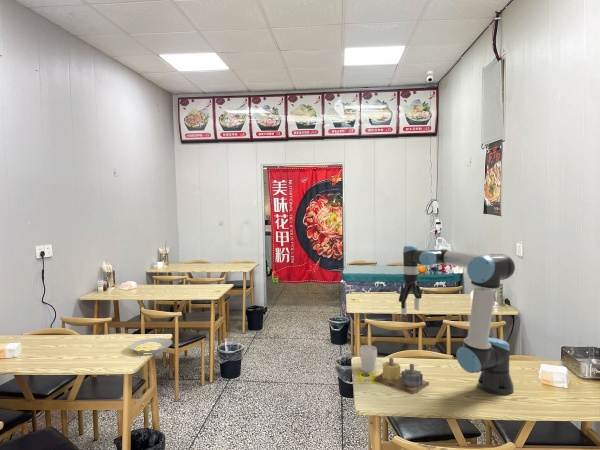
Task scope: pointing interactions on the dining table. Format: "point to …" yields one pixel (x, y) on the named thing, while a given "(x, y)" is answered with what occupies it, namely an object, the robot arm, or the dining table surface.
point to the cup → (368, 357)
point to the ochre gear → (391, 371)
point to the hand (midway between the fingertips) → (410, 312)
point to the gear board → (400, 384)
